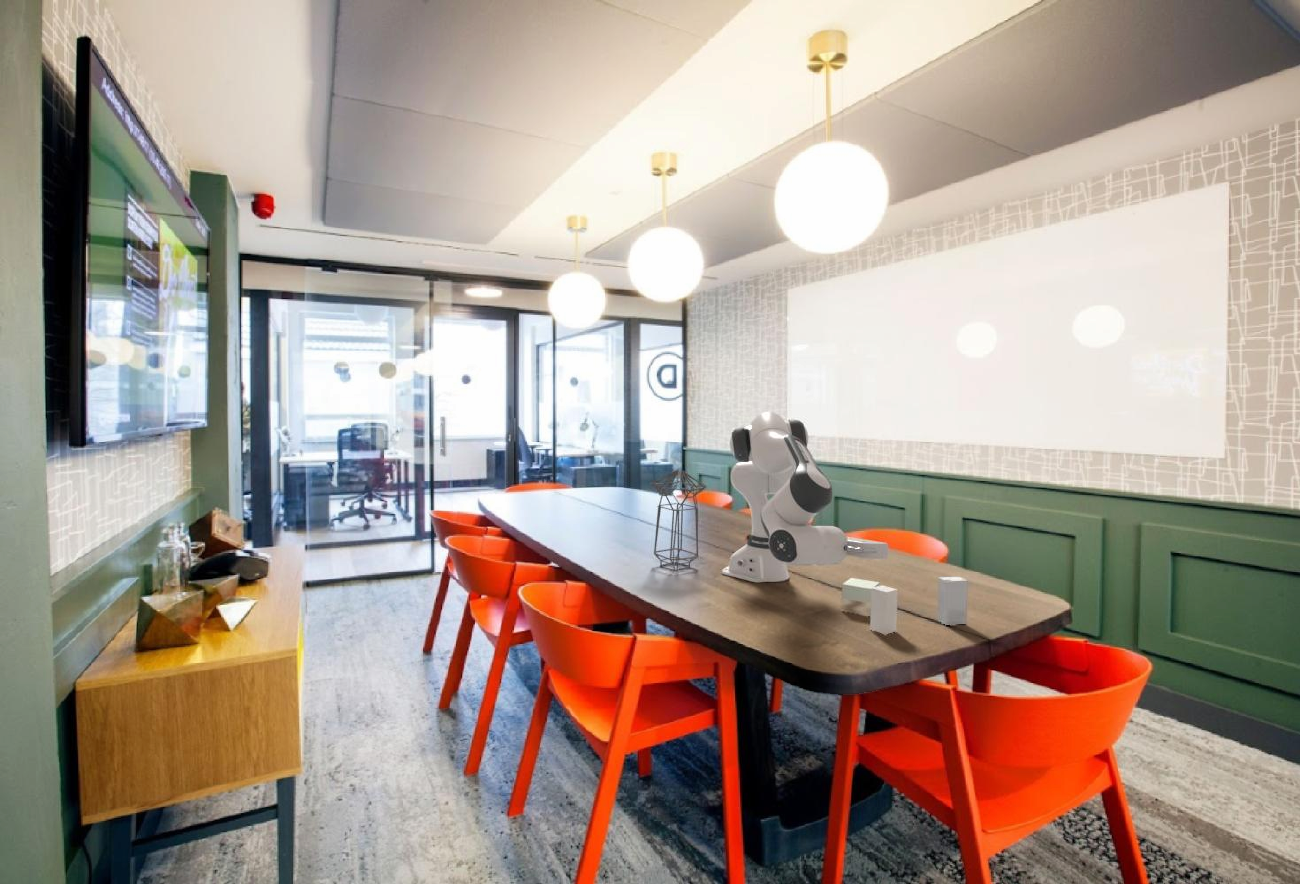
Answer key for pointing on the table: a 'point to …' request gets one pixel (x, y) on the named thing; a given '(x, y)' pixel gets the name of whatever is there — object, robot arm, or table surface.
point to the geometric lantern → (674, 474)
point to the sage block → (858, 590)
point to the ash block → (856, 607)
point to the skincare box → (952, 600)
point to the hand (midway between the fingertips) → (863, 544)
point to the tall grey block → (883, 609)
